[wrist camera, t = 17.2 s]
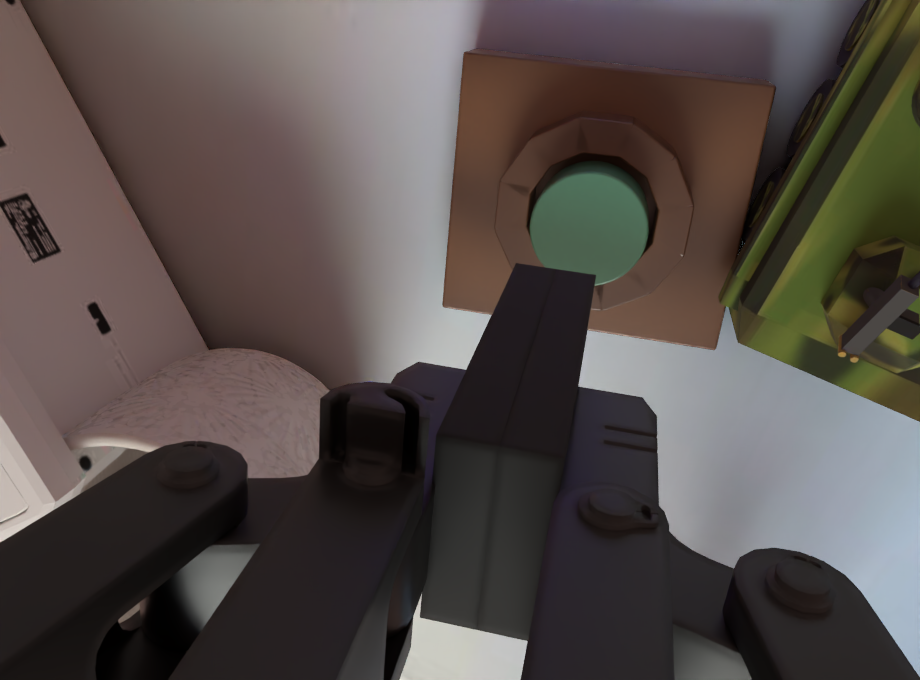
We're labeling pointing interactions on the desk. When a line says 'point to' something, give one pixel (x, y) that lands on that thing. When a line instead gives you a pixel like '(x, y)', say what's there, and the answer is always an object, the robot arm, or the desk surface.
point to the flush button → (591, 221)
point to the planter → (214, 414)
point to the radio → (66, 285)
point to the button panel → (619, 143)
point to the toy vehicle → (845, 224)
